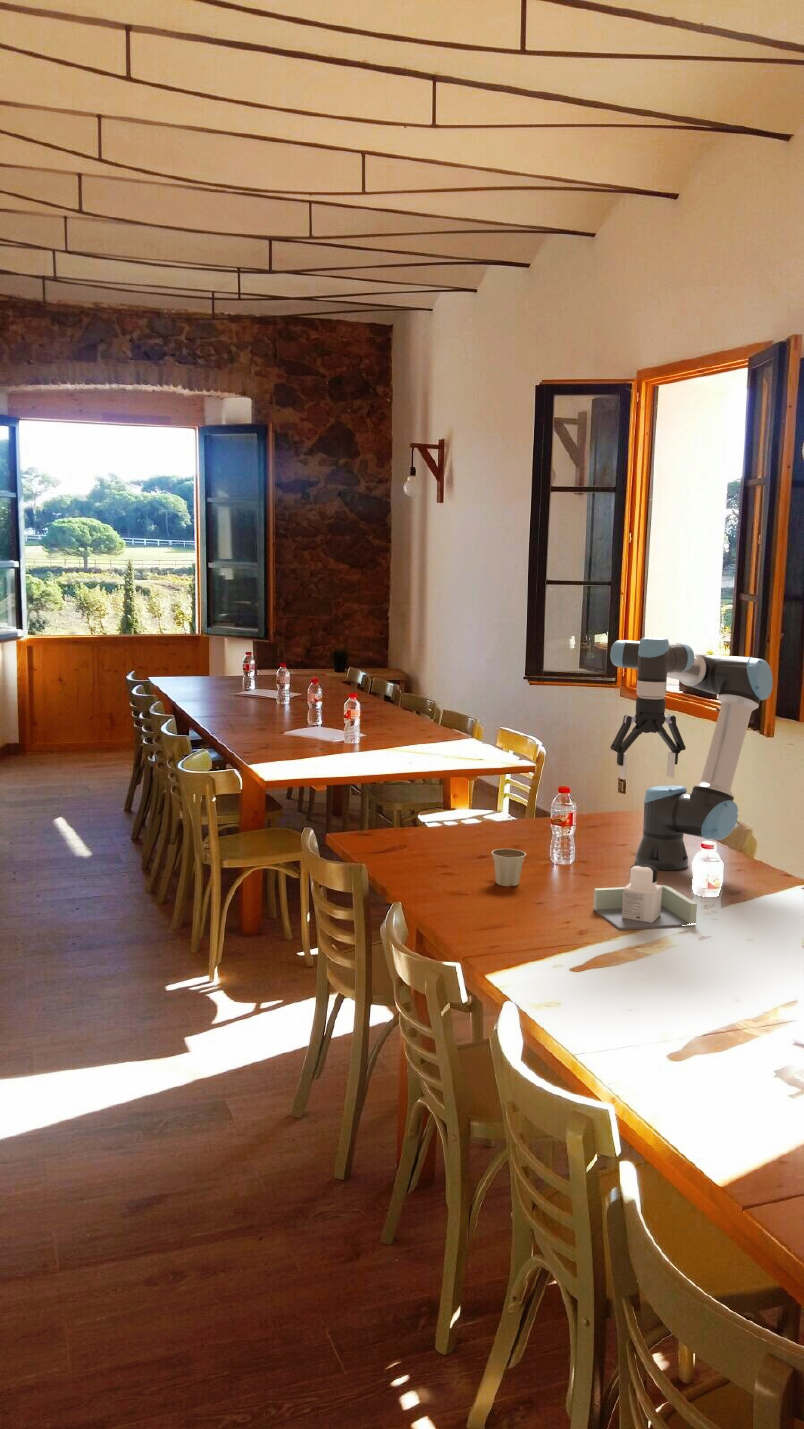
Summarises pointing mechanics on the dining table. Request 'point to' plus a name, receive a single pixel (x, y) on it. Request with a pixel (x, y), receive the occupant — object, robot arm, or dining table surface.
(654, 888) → the container
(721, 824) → the robot arm
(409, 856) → the dining table surface
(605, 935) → the dining table surface
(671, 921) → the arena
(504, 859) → the flower pot
